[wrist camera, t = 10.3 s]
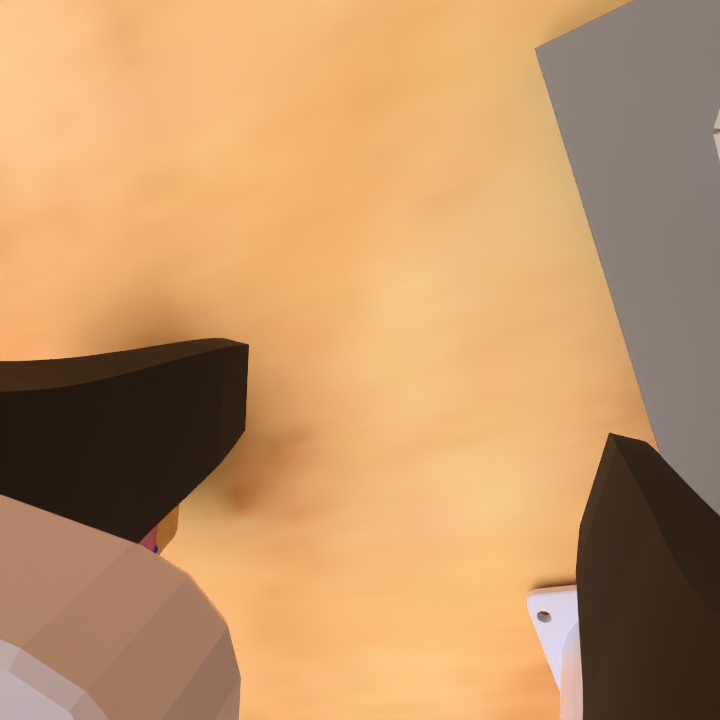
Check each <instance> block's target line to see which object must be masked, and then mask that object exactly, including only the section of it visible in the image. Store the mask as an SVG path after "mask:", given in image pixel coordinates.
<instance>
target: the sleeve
mask: <svg viewBox="0 0 720 720" xmlns="http://www.w3.org/2000/svg"><path fill="white" fill-rule="evenodd" d="M714 128H715V129H720V110H719V113H718V116H717V119H716V122H715V125H714ZM713 136H714V140H715V144H716V147H717V151H718V155H719V159H720V132H718V133H716V134H713Z"/></svg>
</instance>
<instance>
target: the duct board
mask: <svg viewBox="0 0 720 720" xmlns="http://www.w3.org/2000/svg"><path fill="white" fill-rule="evenodd" d="M535 51H536V54H537V57H538V61H539V64H540V67H541V70H542V74H543V77H544V80H545V83H546V87H547V90H548V93H549V96H550V100H551V103H552V106H553V109H554V112H555V116H556V119H557V122H558V125H559V129H560V132H561V135H562V138H563V142H564V145H565V148H566V151H567V155H568V158H569V161H570V164H571V168H572V171H573V174H574V177H575V181H576V184H577V187H578V190H579V193H580V197H581V200H582V203H583V206H584V210H585V213H586V216H587V219H588V223H589V226H590V229H591V232H592V236H593V239H594V242H595V245H596V249H597V252H598V255H599V258H600V261H601V265H602V268H603V271H604V274H605V278H606V281H607V284H608V287H609V291H610V294H611V297H612V300H613V304H614V307H615V310H616V313H617V317H618V320H619V323H620V326H621V329H622V333H623V336H624V339H625V342H626V346H627V349H628V352H629V355H630V359H631V362H632V365H633V368H634V372H635V375H636V378H637V381H638V385H639V388H640V391H641V394H642V398H643V401H644V404H645V407H646V410H647V414H648V417H649V420H650V423H651V427H652V430H653V433H654V436H655V440H656V443H657V446H658V449H659V453H660V455H661V456H662V458H663V459H664V460H665V461H666V462H667V463H668V464H669V465H670V466H671V467H672V468H673V469H674V470H675V471H676V472H677V473H678V474H679V476H680V477H681V478H682V479H683V480H684V481H685V482H686V483H687V484H688V485H689V486H690V487H691V488H692V489H693V490H694V491H695V492H696V493H697V494H698V495H699V496H700V497H701V498H702V499H703V500H704V501H705V502H706V503H707V504H708V505H709V506H710V507H711V508H712V509H713V510H714V511H715V512H716V513H717V514H718V515H719V516H720V159H719V155H718V151H717V147H716V144H715V140H714V136H713V134H716V133H718V132H720V129H715V128H714V125H715V122H716V119H717V116H718V113H719V110H720V0H634V1H632V2H630V3H628V4H626V5H624V6H622V7H620V8H618V9H615V10H613V11H611V12H609V13H607V14H605V15H603V16H601V17H599V18H597V19H595V20H593V21H591V22H589V23H587V24H584V25H582V26H580V27H578V28H576V29H574V30H572V31H570V32H568V33H566V34H564V35H562V36H560V37H558V38H556V39H553V40H551V41H549V42H547V43H545V44H543V45H541V46H539V47H537V48H535Z"/></svg>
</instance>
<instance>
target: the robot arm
mask: <svg viewBox="0 0 720 720" xmlns="http://www.w3.org/2000/svg"><path fill="white" fill-rule="evenodd" d="M248 352H249V345H248V344H244V343H240V342H236V341H232V340H228V339H224V338H209V339H199V340H191V341H184V342H177V343H171V344H165V345H159V346H152V347H146V348H140V349H134V350H127V351H120V352H113V353H105V354H98V355H91V356H83V357H74V358H63V359H50V360H33V361H0V720H239V702H240V682H241V677H240V673H239V669H238V665H237V661H236V657H235V653H234V649H233V645H232V641H231V637H230V633H229V629H228V626H227V623H226V620H225V618H224V617H223V616H222V614H221V613H220V612H219V611H218V609H217V608H216V607H215V606H214V604H213V603H212V602H211V601H210V599H209V598H208V597H207V596H206V594H205V593H204V592H203V590H202V589H201V588H200V587H199V585H198V584H197V583H196V582H195V580H194V579H193V578H192V577H191V575H190V574H188V573H187V572H185V571H183V570H182V569H180V568H178V567H177V566H175V565H173V564H172V563H170V562H169V561H167V560H165V559H164V558H162V557H160V556H159V555H157V554H155V553H154V552H152V551H150V550H149V549H147V548H145V547H144V546H142V545H139V543H140V542H141V541H142V540H143V538H144V537H145V536H146V535H147V534H148V533H149V532H150V531H151V530H152V529H153V528H154V527H155V526H156V525H157V524H158V523H160V522H161V521H162V520H163V519H164V518H165V517H166V516H167V515H168V514H169V513H170V512H171V511H172V510H173V509H174V508H175V507H176V506H177V505H178V504H179V503H180V502H181V501H182V500H184V499H185V498H186V497H187V496H188V495H189V494H190V493H191V492H192V491H193V490H194V489H195V488H196V487H197V486H198V485H199V484H200V483H201V482H202V481H203V480H204V479H205V478H206V477H207V476H208V475H209V474H210V473H211V472H212V471H213V470H214V469H215V468H216V467H217V466H218V465H219V464H220V463H221V462H222V461H223V459H224V458H225V457H226V455H227V454H228V453H229V452H230V450H231V449H232V448H233V446H234V445H235V444H236V442H237V441H238V439H239V438H240V437H241V435H242V434H243V432H244V431H245V421H246V398H247V375H248ZM526 603H527V608H528V610H529V613H530V615H531V618H532V621H533V623H534V626H535V628H536V631H537V634H538V636H539V639H540V642H541V644H542V647H543V649H544V652H545V655H546V657H547V660H548V662H549V665H550V668H551V670H552V673H553V675H554V678H555V681H556V683H557V686H558V688H559V691H560V694H561V697H560V720H720V516H719V515H718V514H717V513H716V512H715V511H714V510H713V509H712V508H711V507H710V506H709V505H708V504H707V503H706V502H705V501H704V500H703V499H702V498H701V497H700V496H699V495H698V494H697V493H696V492H695V491H694V490H693V489H692V488H691V487H690V486H689V485H688V484H687V483H686V482H685V481H684V480H683V479H682V478H681V477H680V476H679V474H678V473H677V472H676V471H675V470H674V469H673V468H672V467H671V466H670V465H669V464H668V463H667V462H666V461H665V460H664V459H663V458H662V456H661V455H660V454H659V453H658V452H657V451H656V450H655V449H654V448H653V447H651V446H650V445H649V444H648V443H647V442H645V441H641V440H637V439H633V438H628V437H624V436H620V435H616V434H612V433H609V435H608V438H607V441H606V445H605V448H604V451H603V454H602V457H601V460H600V464H599V467H598V470H597V473H596V476H595V480H594V483H593V486H592V489H591V492H590V495H589V499H588V502H587V505H586V508H585V511H584V514H583V518H582V521H581V524H580V530H579V540H578V551H577V564H576V585H568V586H559V587H549V588H539V589H534V590H531V591H530V592H529V593H528V595H527V601H526ZM541 611H545V612H547V613H549V615H543V614H541V613H539V612H541Z"/></svg>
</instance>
